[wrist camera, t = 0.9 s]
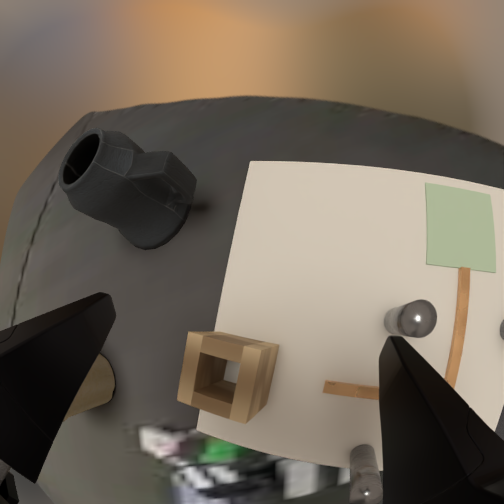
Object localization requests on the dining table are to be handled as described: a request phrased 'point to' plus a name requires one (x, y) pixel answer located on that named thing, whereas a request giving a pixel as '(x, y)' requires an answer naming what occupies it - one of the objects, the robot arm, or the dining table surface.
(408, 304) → the wire and posts
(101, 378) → the flower pot
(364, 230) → the course mat
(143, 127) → the dining table surface
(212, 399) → the oak open box
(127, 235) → the dark grey holder
